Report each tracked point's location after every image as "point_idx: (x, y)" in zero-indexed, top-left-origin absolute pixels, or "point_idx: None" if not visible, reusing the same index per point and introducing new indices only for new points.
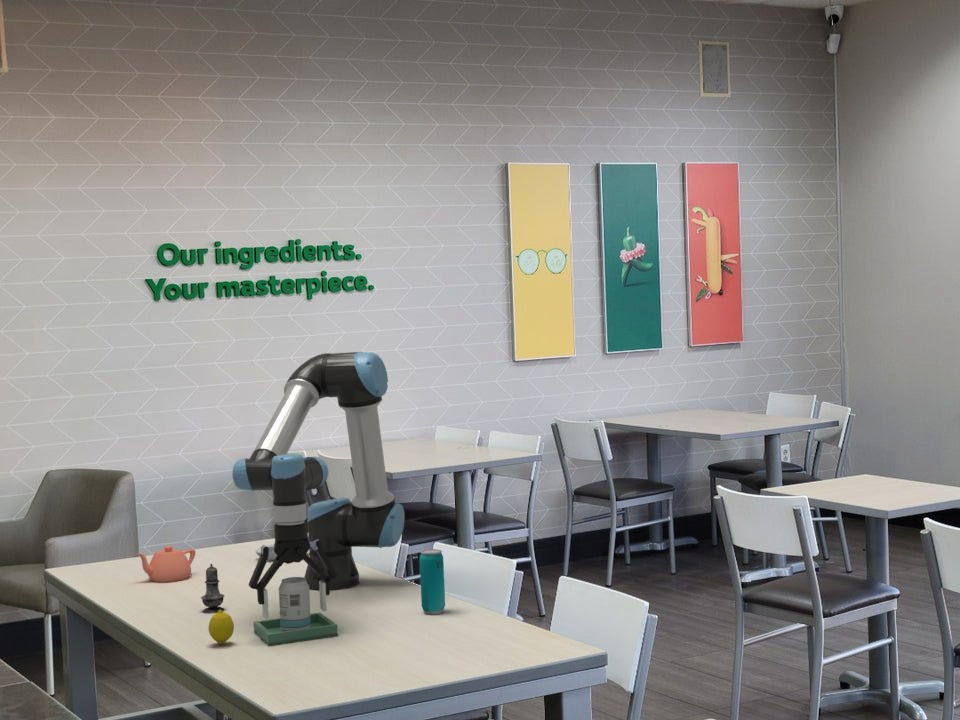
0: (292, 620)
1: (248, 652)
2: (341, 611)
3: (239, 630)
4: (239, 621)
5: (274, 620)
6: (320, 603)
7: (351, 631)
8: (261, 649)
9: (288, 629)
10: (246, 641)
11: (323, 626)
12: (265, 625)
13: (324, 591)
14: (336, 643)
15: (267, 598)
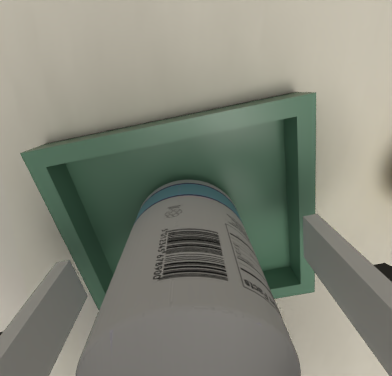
0: (203, 196)
1: (384, 18)
2: (70, 373)
3: (328, 295)
4: (307, 359)
5: None
6: (76, 311)
7: (6, 187)
8: (328, 49)
9: (216, 188)
10: (344, 182)
11: (78, 148)
12: (275, 277)
13: (1, 344)
14: (34, 25)
15: (369, 282)
